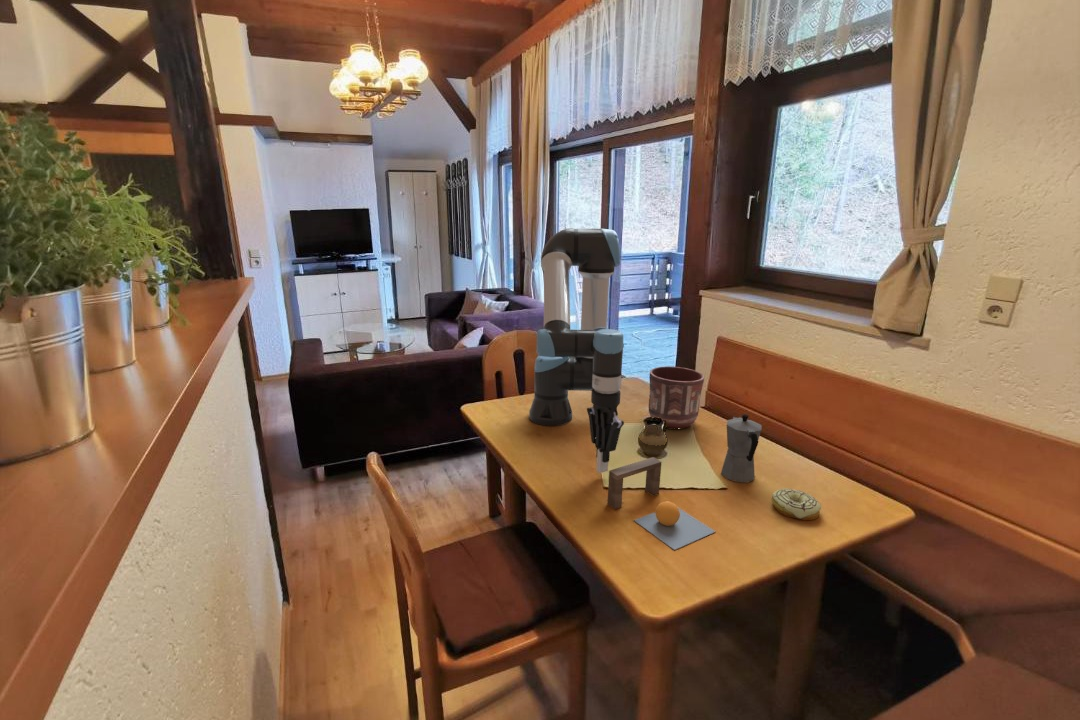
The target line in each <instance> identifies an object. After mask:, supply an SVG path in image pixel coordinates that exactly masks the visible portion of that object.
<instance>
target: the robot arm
mask: <svg viewBox="0 0 1080 720" xmlns="http://www.w3.org/2000/svg"><path fill="white" fill-rule="evenodd" d="M619 241H620V240H619V236H618V234H617V232H616V231H615V230H614V229H608V228H607V229H606V228H573V227H572V228H565V229H562V230H560V231H557V232H556V233H554V235H553V236H551V237H550V238H549V240H548V241H547V242H546V243H545V245H544V247H543V249H542V252H541V256H540V266H541V270H542V271H543V328H541V329H538V330H537V331H536V354H537V357H536V358H535V360H534V369H533V371H534V389H533V390H534V396H533V399H532V403H531V406H530V409H529V412H528V418H529V420H530V421H531V422H532V423H534V424H537V425H541V426H548V427H555V426H562V425H567V424H569V423H570V422H571V421H572V420H573V410H572V407H571V404H570V400H569V391H583V392H587V391H590V392H591V393H590V394H591V395H590V396H591V398H590V399H591V401H590V402H591V403H592V406H590V407H587V408H586V412H587V415H588V420H589V430H590V441H591V443H592V444H594V445H595V448H596V454H595V455H596V472H597V473H598V474H603V473H605V472H609V470H608V469H609V462H610V457H611V456H610V452H614V451H616V450H617V446H618V442H619V437H620V434H621V433H620V432H621V429H622V428H623V426H624V424H625V421H624V420H623V419H619V417H618V414H619V413H618V406H619V405H620V403H621V394H622V393H621V389H622V370H623V369H622V368H623V355H624V347H625V344H624V334H623V332H622V331H620V330H617V329H613V328H612V329H611V328H608V327H607V326H608V323H607V322H608V312H609V311H608V309H609V308H608V307H609V306H608V305H609V289H610V288H609V287H610V278H611V276H612V275H613V274H614V273H615V268H617V267H619V266H620V265H621V249H620V242H619ZM572 266H573V267H578V268H577V269H578V270H577V272H578V273H579V274H580V275H581V276H582V289H581V290H582V292H581V312H580V313H581V314H580V315H581V317H580V318H581V319H580V329H571V307H570V272H569V271H570V270H571V269H572Z"/></svg>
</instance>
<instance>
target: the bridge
mask: <svg viewBox="0 0 1080 720" xmlns="http://www.w3.org/2000/svg"><path fill="white" fill-rule="evenodd" d="M643 472H646V473H645V487H644V492H646V493H648V494H649V495H651V496H652V497H654V496H657V495H660V484H661V473H662V460H659V459H657V458H656V457H654V456H652V457H649V458H646V459H641V460H640V461H635V462H633V463H630V464H629V463H628V464H625V465H623V466H620V467H616V468H614V469H609V470H608V484H607V485H608V486H607V487H608V488H607V505H608V506H609V507H611V508H612V509H613V510H618V509H621V508H622V506H623V505H622V504H623V491H624V490H623V489H624V479H625V478H628V477H631V476H634V475H637V474H641V473H643Z"/></svg>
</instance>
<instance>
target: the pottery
mask: <svg viewBox="0 0 1080 720" xmlns="http://www.w3.org/2000/svg"><path fill="white" fill-rule="evenodd" d="M704 381H705V375H704V374H703V373H701V372H700V371H697V370H695V369H690V368H686V367H680V366H658V367H654V368H651V370H649V398H648V413H649V417H650V418H651V417H659V418H662V419H664V420H666V421H667V428H666V429H668V428H673V429H672V430H679V429H678V428H684V429H686V428H685V427H687V428H689V427H691V425H693V424H694V423H695V422H696V420H697V419H698V417H699V411H700V401H701V396H702V391H703V386H704ZM674 428H675V429H674Z"/></svg>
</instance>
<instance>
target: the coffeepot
mask: <svg viewBox="0 0 1080 720" xmlns="http://www.w3.org/2000/svg"><path fill="white" fill-rule="evenodd" d="M748 418H749V414H746V413H744V414H741V417H739V416H736V417H735V416H732V418H731V419H727V421H726V441H727V443H726V445H727V446H726V447H727V452H726V453H725V454H726V455H725V457H724V461H723V465H722V467H721V473H720V475H721V476H723V477H724V478H725V479H727V480H729V481H732V482H735V483H744V484H745V483H751V482H753V481H754V480H755V454H756V450H757V447H758V445H759V439H760V436H761V432H762V424H761V423H758V422H756V421H754V420H752V419H748Z"/></svg>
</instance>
